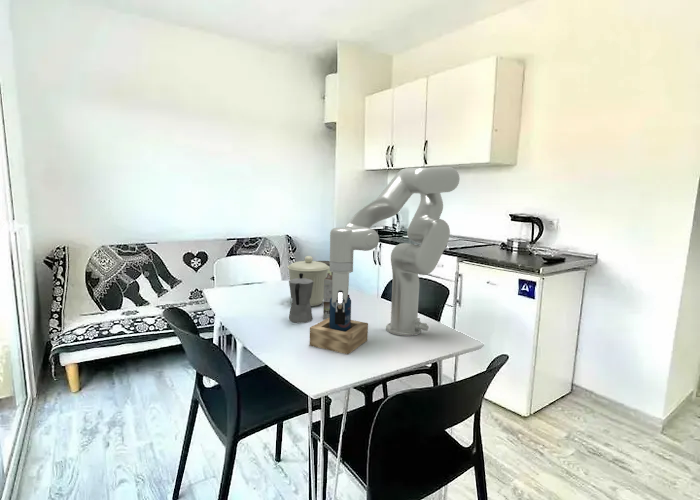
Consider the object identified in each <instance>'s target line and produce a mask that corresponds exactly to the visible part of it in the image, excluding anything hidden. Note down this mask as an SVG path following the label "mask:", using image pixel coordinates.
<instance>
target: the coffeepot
mask: <svg viewBox="0 0 700 500" xmlns="http://www.w3.org/2000/svg"><path fill="white" fill-rule="evenodd" d="M299 277H300V278H297V279H292V280H290V279H289V280H288V284H289V292H290V297H291V304H290V309H289V314H288V320H289V321H290V322H292V323H297V324H305V323H310V322H312V320H313V319H314V318H313V313H312V306H311V305H310V298H311V294H312V288H313V281H312V280H310V279H306V278H303V274H302V273H300V274H299Z"/></svg>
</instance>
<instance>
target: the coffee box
mask: <svg viewBox="0 0 700 500" xmlns="http://www.w3.org/2000/svg"><path fill="white" fill-rule="evenodd" d="M331 297H332V275H329V276H328V277H326V278H325V279H324V299H323V310H322V312H323V313H322V321H323V320H325V319H327V318H329V317H330V299H331Z"/></svg>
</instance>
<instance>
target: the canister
mask: <svg viewBox="0 0 700 500" xmlns="http://www.w3.org/2000/svg"><path fill="white" fill-rule="evenodd" d="M313 260H314V258H313V257H312V256H311V255H306V256H305V257H304V260H299V261H294V262H292V263H290V264H288V265H287V266H286V267H287V269H288V273H289V274H288V277H289V280H292V279H297V278H300V277H299V274H300V273H302V274H303V278H306V279H310V280H312V281H313V288H312V294H311V298H310V305H311V307H315V306H316V307H317V306H320V305H322V303H324V279H325V278H326V277H327V273H328V269H329V266H328V265H326V264H325V263H322V262H317V261H318V260H315V261H313Z"/></svg>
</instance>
